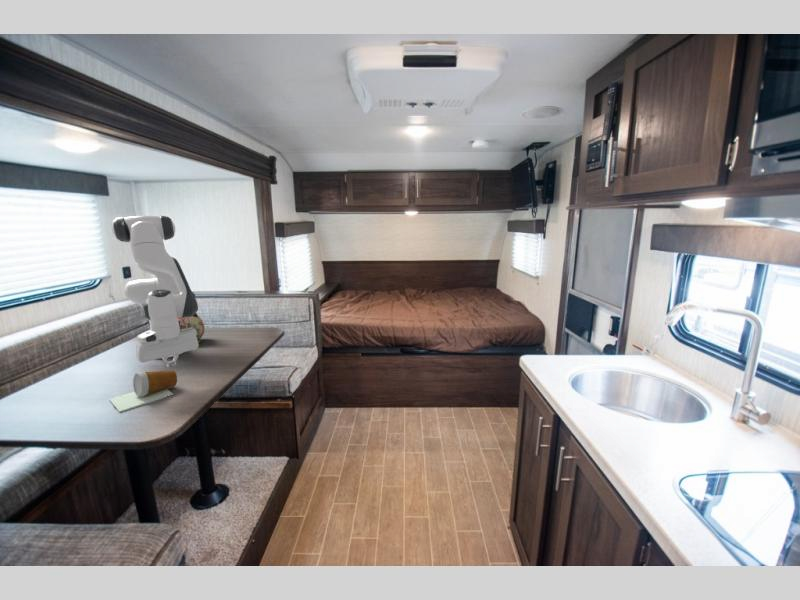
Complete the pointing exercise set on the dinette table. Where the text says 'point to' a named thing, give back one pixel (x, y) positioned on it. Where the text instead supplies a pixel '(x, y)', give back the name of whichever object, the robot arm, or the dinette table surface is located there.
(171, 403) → the dinette table surface
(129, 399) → the mat
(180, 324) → the ceramic jug
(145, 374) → the disposable coffee cup
